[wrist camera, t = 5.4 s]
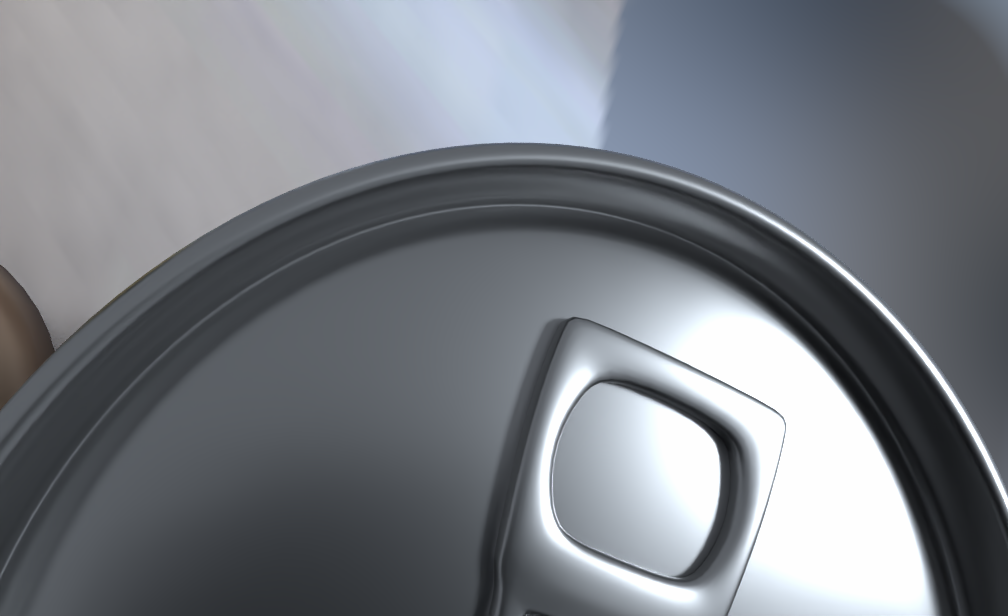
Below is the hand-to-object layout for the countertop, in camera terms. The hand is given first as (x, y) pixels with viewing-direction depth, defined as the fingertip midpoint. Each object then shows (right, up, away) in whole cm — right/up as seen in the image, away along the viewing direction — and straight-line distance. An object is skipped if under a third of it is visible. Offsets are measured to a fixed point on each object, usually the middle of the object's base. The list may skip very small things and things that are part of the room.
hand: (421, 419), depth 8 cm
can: (-2, -3, +6) cm, 7 cm away
